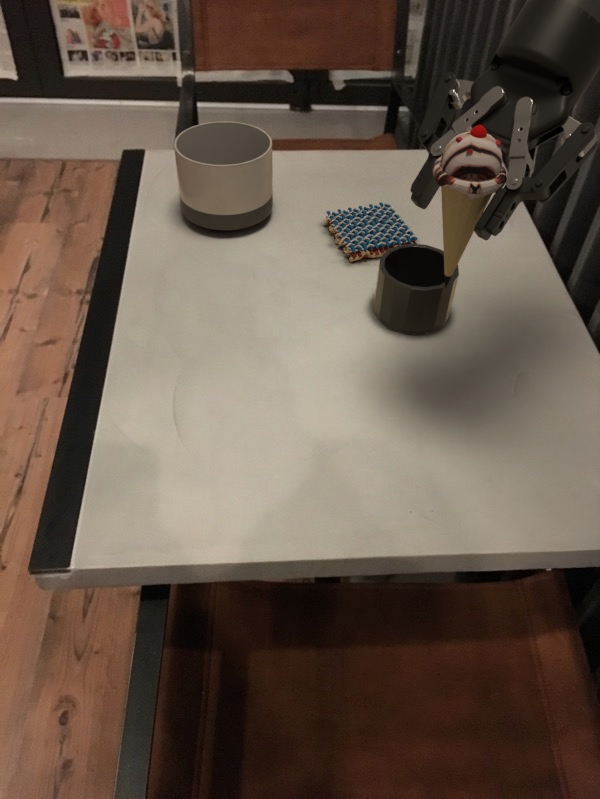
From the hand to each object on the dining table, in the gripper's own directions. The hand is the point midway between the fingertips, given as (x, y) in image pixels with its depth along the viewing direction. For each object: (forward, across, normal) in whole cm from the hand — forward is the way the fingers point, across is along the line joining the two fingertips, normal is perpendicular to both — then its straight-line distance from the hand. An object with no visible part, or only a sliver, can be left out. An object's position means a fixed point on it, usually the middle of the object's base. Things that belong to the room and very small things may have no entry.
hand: (448, 219), depth 55 cm
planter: (+8, -42, +24) cm, 49 cm away
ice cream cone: (+4, 0, +7) cm, 8 cm away
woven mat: (+1, -24, +31) cm, 39 cm away
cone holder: (+7, -10, +25) cm, 28 cm away
